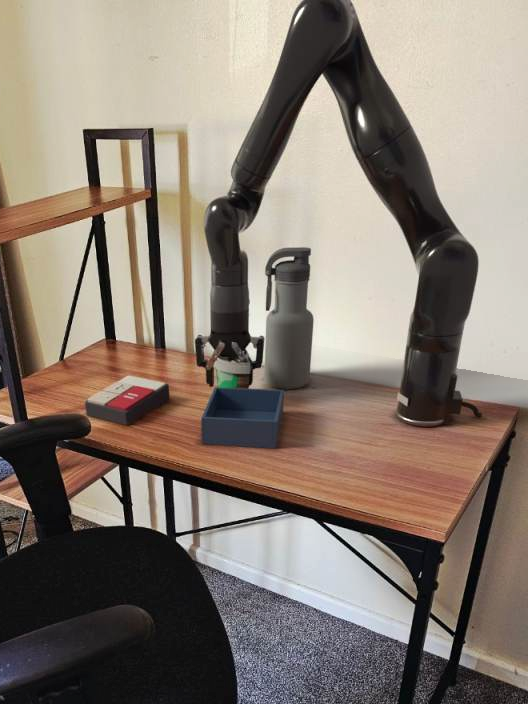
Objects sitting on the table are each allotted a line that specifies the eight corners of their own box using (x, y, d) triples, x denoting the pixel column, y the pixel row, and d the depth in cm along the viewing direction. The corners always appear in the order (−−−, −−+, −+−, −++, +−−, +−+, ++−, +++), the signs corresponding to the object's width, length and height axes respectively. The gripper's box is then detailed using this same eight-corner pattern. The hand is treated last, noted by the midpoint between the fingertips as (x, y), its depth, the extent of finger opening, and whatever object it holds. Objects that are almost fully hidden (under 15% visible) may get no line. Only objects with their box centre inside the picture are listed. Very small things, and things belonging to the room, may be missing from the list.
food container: (207, 391, 153) (207, 346, 148) (235, 389, 154) (236, 344, 149) (219, 413, 143) (219, 366, 138) (249, 411, 143) (250, 363, 138)
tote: (282, 415, 141) (284, 389, 138) (276, 448, 128) (277, 421, 125) (214, 411, 144) (214, 387, 141) (201, 444, 131) (201, 417, 129)
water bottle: (259, 389, 153) (264, 254, 138) (264, 373, 161) (268, 244, 146) (308, 391, 150) (317, 254, 136) (310, 375, 158) (319, 244, 144)
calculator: (83, 398, 144) (127, 372, 154) (86, 417, 146) (129, 390, 156) (126, 408, 138) (169, 380, 148) (128, 428, 140) (170, 399, 150)
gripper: (189, 310, 137) (192, 391, 145) (264, 311, 133) (262, 394, 142) (196, 300, 143) (198, 378, 151) (268, 300, 139) (266, 380, 148)
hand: (229, 386), depth 146 cm, fingers closed on food container, 7 cm apart
